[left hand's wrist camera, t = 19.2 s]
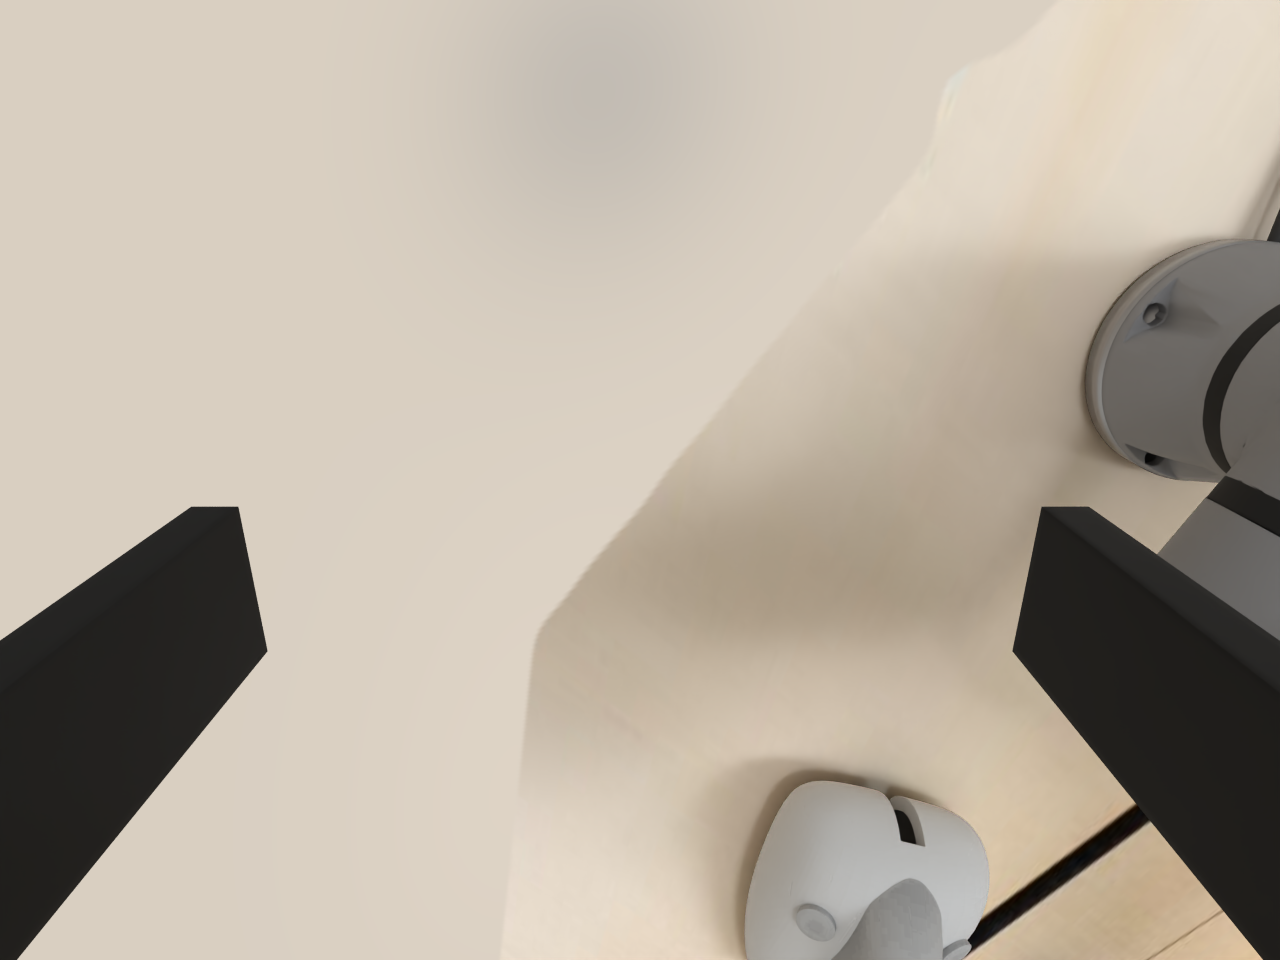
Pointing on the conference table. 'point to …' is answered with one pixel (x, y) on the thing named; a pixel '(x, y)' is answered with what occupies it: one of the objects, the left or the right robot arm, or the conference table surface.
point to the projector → (865, 879)
